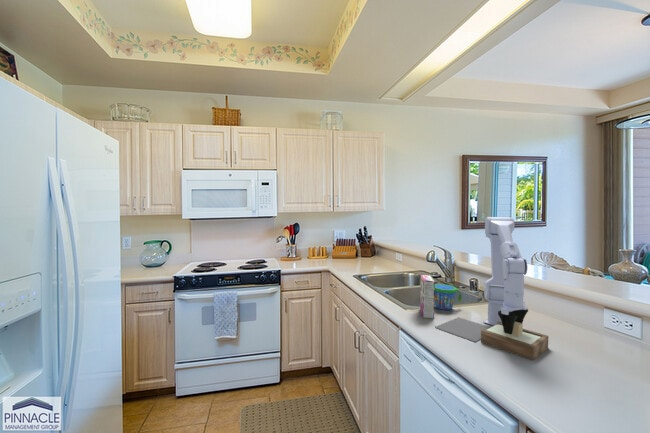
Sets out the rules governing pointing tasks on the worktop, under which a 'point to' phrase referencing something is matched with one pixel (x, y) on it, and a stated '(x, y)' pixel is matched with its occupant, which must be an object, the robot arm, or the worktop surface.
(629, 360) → the worktop surface
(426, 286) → the candy bar box
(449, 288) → the snack cup
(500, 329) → the cover plate
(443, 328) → the charcoal mat
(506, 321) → the robot arm
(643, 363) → the worktop surface
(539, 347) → the walnut box
